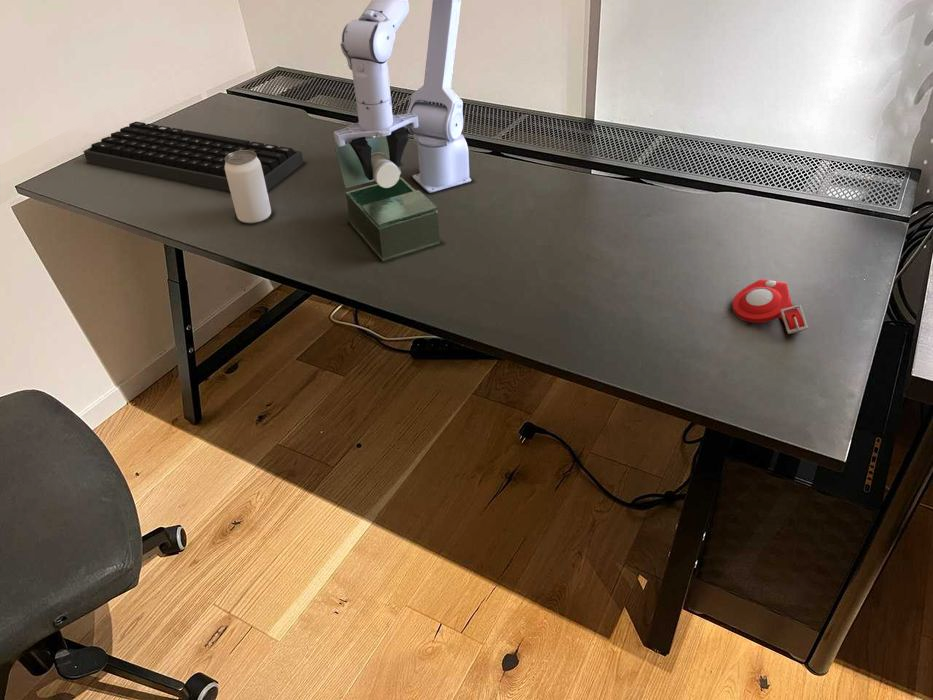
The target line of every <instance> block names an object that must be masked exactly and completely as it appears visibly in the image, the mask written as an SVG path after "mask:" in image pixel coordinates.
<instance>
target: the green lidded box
mask: <svg viewBox="0 0 933 700" xmlns="http://www.w3.org/2000/svg"><path fill="white" fill-rule="evenodd" d="M345 197H346V203H347V210H348V217H349V223H350V225H351V226H352V227H353V228H354V230H355V231H356V232H357V233H358V234H359V236H360V237H361V238H362V239H363V241H364V242H365V243H366V244H367V245H368V246H369V248H370V249H371V250H372V251H373V252H374V253H375V254H376V255H377V257H378V258H379V259H380V260H381V261H382V262H383V263H384V262H386V261H390V260H393V259H396V258H400V257H403V256H406V255H409V254H412V253H413V254H414V253H416V252H419V251H422V250H426V249H428V248H432V247H435V246H438V245H440V244H441V239H440V225H439V223H440V222H439V211H438V206H437V205H436V204H434V202H432V201H431V200H430V199H429V198H428V197H427V196H426V195H425V194H424V193H423V192H422V191H420V190H419V189H417V190H416V189H415V188H414V187H412V186H411V184H410V183H408V181H406V180H405V179H404V178H403V177H402V176H400V177H399V180H398V181H397V183H396V184H395V185H394V186H392V187H389V188H383V187H381V186H380V185H378V184H377V183H375V184H371V185H368V186H363V187H360V188H357V189H352V190H350V191H346V192H345Z"/></svg>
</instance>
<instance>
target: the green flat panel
mask: <svg viewBox="0 0 933 700" xmlns="http://www.w3.org/2000/svg"><path fill="white" fill-rule="evenodd" d="M366 141H368V144H369V145H370V146H371V147H372V151H371V154H372V153H375V152H380V153H382V154H384V155H385V156H386V157H387V158H388V159H389V160H390V158H389V148H388V143H387V138H386V136H384V137H380V136H378V137H374V138H370V139H369V138H366ZM334 151H335V155H336V159H337V163H338V167H339V170H340V174H341V178H342V182H343V187H344V189H346V190H347V189H350V188H353V187H358V186H361V185H364V184H368V183H372V182H375V180H374V179H373V180H369V179H368V178H367V177H366V176H365V173H364V170H363V167H362V165H361V163H360V160H359V158H358V156H357V155H356V153H355V151H354V150H353V148H352V147H351V145H350V144H349V143H345V145H344V146H338V145H337V146H334ZM399 172H400V175H401V174H402V171H401V168H400V169H399Z"/></svg>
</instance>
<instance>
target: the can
mask: <svg viewBox="0 0 933 700" xmlns="http://www.w3.org/2000/svg"><path fill="white" fill-rule="evenodd" d="M225 161H226V162H225V172H226V176H227V180H228V184H229V188H230V191H229V192H230V196H231V200H232V203H233V208H234V211H235V214H236V219H237V220H238V221H240V222H241V223H244V224H257V223H261V222H264V221H266V220H268V219H269V218H270V216H271V214H272V207H271V203H270V199H269V194H268V193H269V192H268V191H267V189H266V184H265V180H264V175H263V171H262V166H261V163H260V160H259V159H258V158H257V155H256V153H255V152H253V151H250V150H240V151H235V152H232V153H230V154H228V155H227V156H226V157H225Z"/></svg>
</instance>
